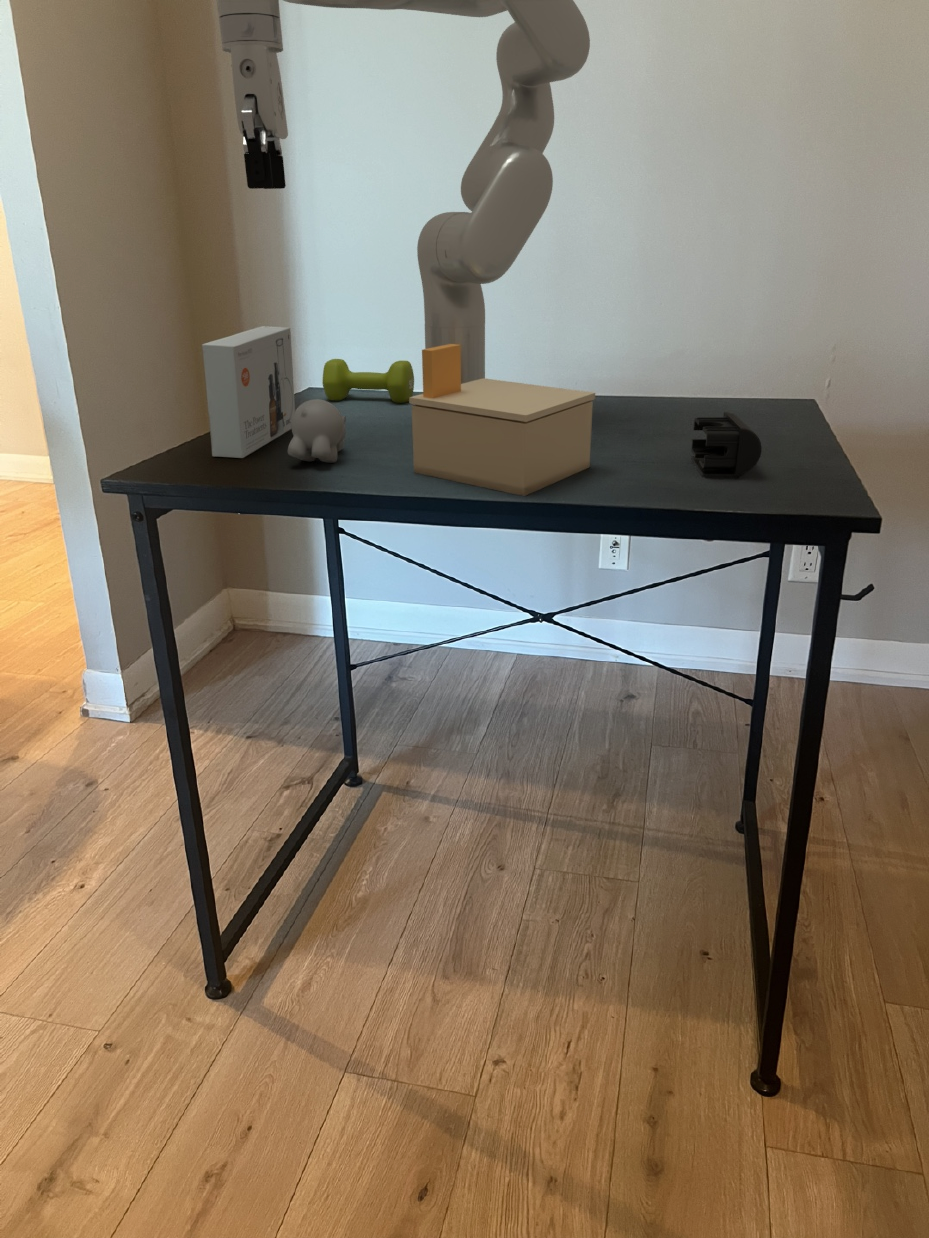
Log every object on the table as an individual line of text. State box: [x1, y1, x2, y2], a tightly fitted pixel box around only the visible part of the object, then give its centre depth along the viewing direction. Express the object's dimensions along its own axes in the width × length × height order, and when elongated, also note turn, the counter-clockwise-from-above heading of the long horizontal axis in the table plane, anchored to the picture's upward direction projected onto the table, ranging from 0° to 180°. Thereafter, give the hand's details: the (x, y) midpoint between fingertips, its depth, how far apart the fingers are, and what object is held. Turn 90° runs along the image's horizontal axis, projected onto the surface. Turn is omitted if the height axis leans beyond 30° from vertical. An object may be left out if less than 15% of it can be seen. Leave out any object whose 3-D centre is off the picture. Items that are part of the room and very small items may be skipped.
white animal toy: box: [287, 398, 347, 464], centre depth 126 cm, size 7×12×8 cm, turn 162°
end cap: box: [690, 411, 763, 479], centre depth 119 cm, size 10×7×7 cm
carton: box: [411, 400, 594, 497], centre depth 119 cm, size 16×18×9 cm
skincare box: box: [201, 325, 296, 459], centre depth 133 cm, size 21×5×16 cm, turn 168°
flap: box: [408, 344, 596, 422], centre depth 115 cm, size 16×18×7 cm
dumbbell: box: [322, 358, 415, 404], centre depth 162 cm, size 16×8×7 cm, turn 77°
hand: (267, 188), depth 118 cm, fingers open, 9 cm apart
